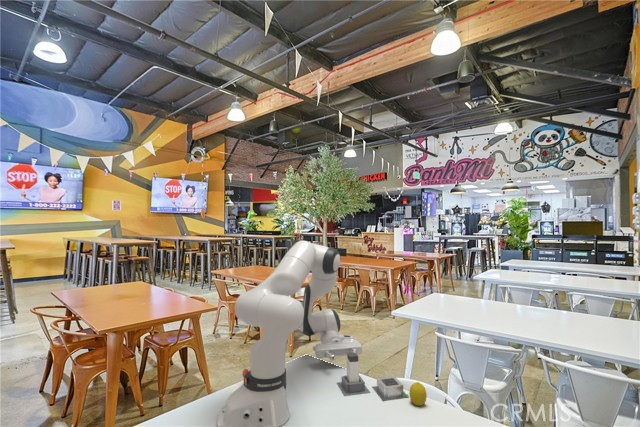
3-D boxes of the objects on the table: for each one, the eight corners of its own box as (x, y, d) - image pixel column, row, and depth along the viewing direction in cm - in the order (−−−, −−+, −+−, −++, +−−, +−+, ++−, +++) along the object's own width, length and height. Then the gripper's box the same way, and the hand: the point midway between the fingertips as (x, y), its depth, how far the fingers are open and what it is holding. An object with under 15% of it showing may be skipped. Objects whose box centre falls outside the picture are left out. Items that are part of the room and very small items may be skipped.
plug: (349, 390, 115) (349, 357, 116) (346, 385, 119) (346, 353, 119) (359, 389, 116) (359, 356, 117) (355, 384, 120) (355, 352, 120)
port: (382, 404, 108) (382, 390, 109) (371, 389, 118) (371, 377, 118) (409, 400, 111) (409, 387, 111) (396, 386, 120) (396, 374, 121)
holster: (344, 399, 111) (344, 387, 112) (336, 385, 121) (336, 374, 121) (370, 395, 114) (370, 384, 114) (360, 382, 123) (360, 371, 124)
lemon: (427, 412, 104) (427, 387, 104) (410, 410, 105) (409, 385, 105) (425, 402, 109) (425, 379, 109) (408, 401, 110) (408, 377, 111)
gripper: (311, 339, 140) (318, 351, 126) (355, 335, 144) (366, 346, 131) (311, 353, 140) (318, 367, 126) (355, 349, 144) (366, 362, 131)
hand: (343, 356), depth 129 cm, fingers open, 8 cm apart
